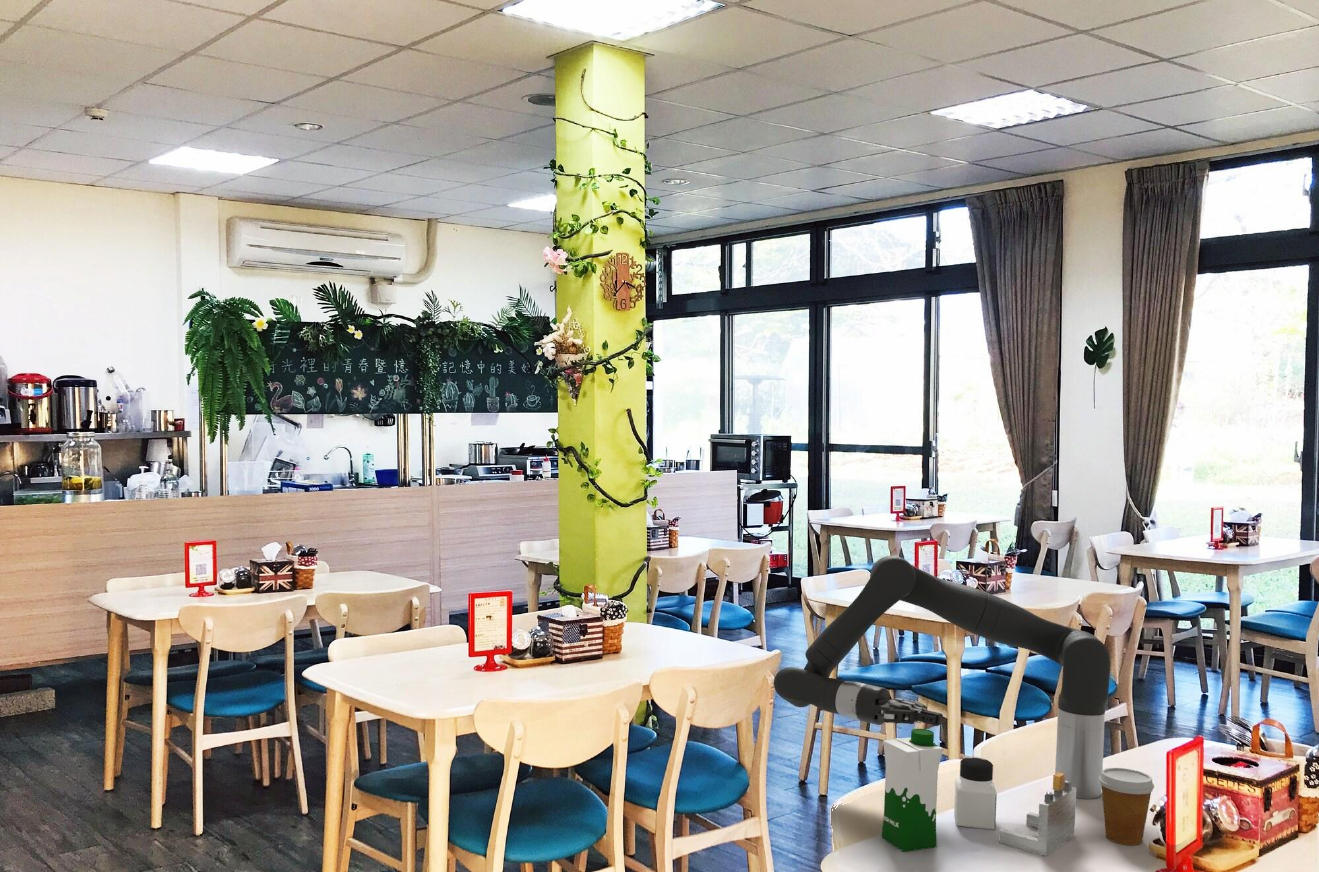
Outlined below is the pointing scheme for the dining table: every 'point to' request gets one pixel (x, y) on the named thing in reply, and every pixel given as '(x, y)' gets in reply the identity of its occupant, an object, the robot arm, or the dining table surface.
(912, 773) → the milk carton
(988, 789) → the medicine bottle
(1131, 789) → the disposable coffee cup
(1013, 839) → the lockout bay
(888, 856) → the dining table surface
